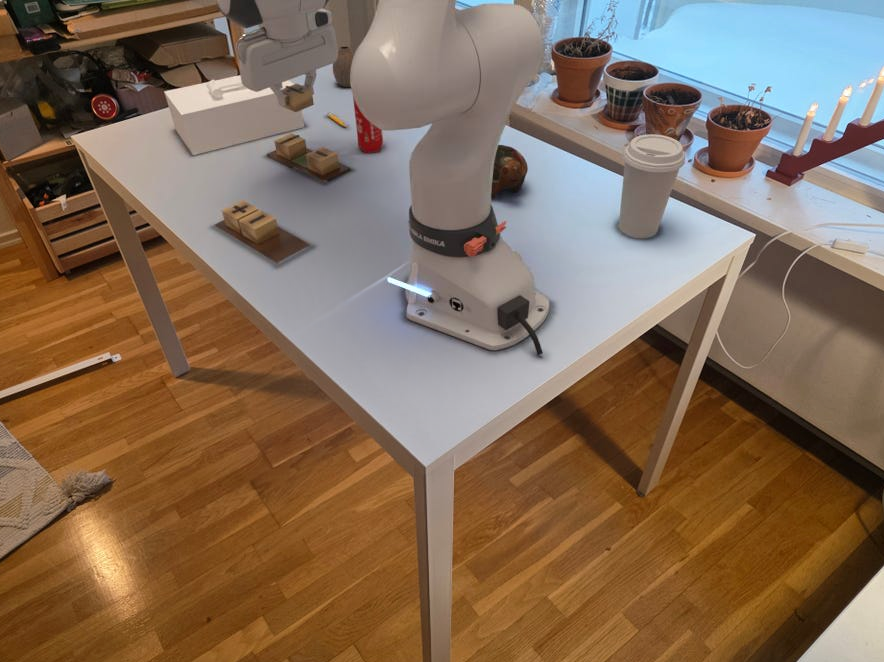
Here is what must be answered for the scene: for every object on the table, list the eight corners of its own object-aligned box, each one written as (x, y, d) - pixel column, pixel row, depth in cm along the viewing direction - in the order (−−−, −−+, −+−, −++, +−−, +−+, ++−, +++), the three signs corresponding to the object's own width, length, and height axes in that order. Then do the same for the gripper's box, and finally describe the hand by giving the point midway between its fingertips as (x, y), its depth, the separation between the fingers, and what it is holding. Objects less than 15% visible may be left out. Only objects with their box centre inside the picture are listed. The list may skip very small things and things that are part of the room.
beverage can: (379, 154, 134) (374, 96, 126) (355, 152, 135) (349, 94, 127) (386, 143, 138) (381, 86, 129) (362, 141, 138) (356, 84, 130)
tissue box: (175, 130, 145) (160, 80, 137) (281, 105, 154) (272, 57, 146) (193, 155, 136) (177, 103, 128) (304, 127, 145) (296, 77, 137)
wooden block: (314, 105, 124) (312, 88, 121) (296, 113, 121) (293, 96, 119) (298, 98, 126) (295, 82, 124) (279, 106, 124) (276, 89, 122)
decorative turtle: (495, 212, 116) (494, 170, 111) (461, 180, 127) (458, 140, 122) (543, 198, 118) (544, 156, 113) (506, 168, 129) (505, 128, 124)
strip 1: (310, 247, 110) (307, 228, 107) (277, 265, 106) (273, 246, 103) (247, 211, 119) (242, 193, 116) (214, 227, 115) (209, 209, 112)
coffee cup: (597, 227, 112) (612, 144, 102) (632, 207, 116) (649, 126, 106) (643, 250, 107) (663, 165, 96) (678, 229, 111) (700, 145, 101)
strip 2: (350, 170, 129) (348, 153, 127) (324, 183, 126) (321, 166, 123) (293, 144, 138) (290, 128, 136) (267, 156, 135) (263, 139, 132)
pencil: (330, 115, 148) (329, 112, 148) (348, 128, 143) (348, 125, 143) (327, 116, 148) (326, 113, 148) (345, 129, 143) (344, 126, 142)
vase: (366, 85, 161) (363, 48, 155) (341, 91, 159) (337, 54, 153) (355, 77, 166) (351, 40, 160) (330, 82, 163) (325, 46, 157)
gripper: (245, 40, 106) (262, 122, 116) (338, 10, 117) (347, 87, 127) (223, 32, 109) (241, 113, 119) (315, 4, 120) (325, 80, 130)
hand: (296, 100), depth 123 cm, fingers closed on wooden block, 4 cm apart
